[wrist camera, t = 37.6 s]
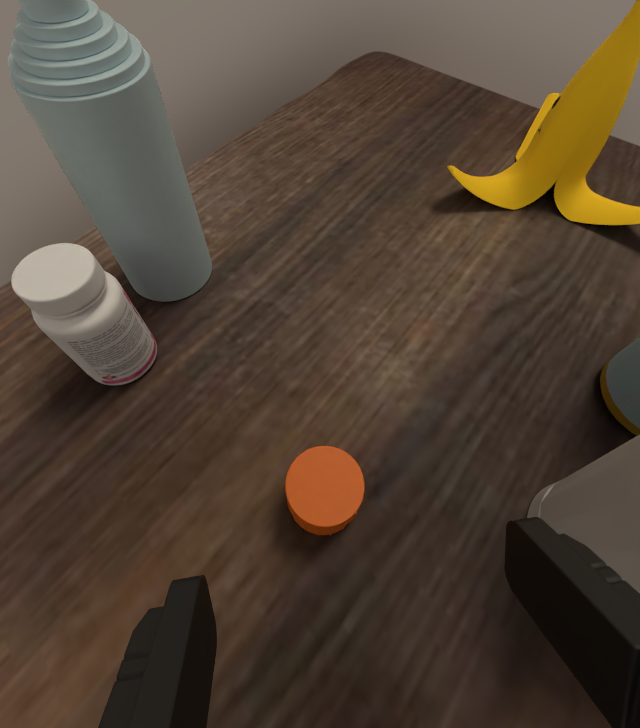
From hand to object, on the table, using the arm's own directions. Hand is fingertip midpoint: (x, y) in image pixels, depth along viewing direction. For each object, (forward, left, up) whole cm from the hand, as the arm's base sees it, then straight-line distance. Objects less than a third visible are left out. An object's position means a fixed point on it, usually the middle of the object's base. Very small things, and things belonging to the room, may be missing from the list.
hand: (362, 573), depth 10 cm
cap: (+2, +4, -12) cm, 13 cm away
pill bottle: (-3, +20, -12) cm, 23 cm away
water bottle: (+4, +25, -12) cm, 28 cm away
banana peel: (+37, +10, -12) cm, 40 cm away
